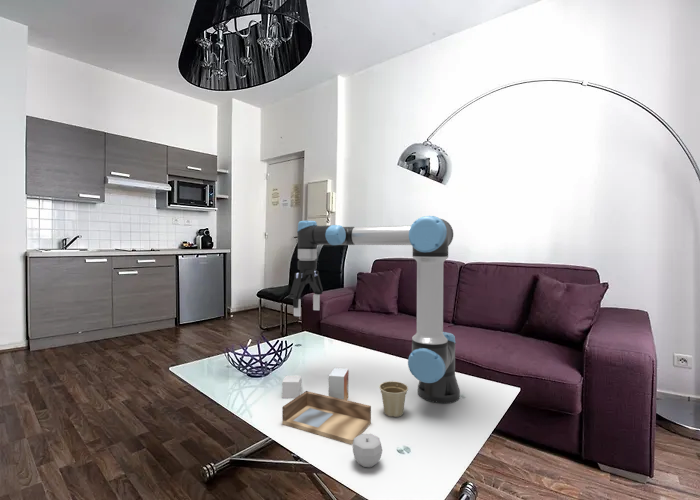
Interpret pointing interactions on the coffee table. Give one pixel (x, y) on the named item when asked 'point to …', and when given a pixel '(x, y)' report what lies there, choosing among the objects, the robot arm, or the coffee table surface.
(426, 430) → the coffee table surface
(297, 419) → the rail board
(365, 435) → the apple
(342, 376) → the small box
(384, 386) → the flower pot
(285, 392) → the white cube
